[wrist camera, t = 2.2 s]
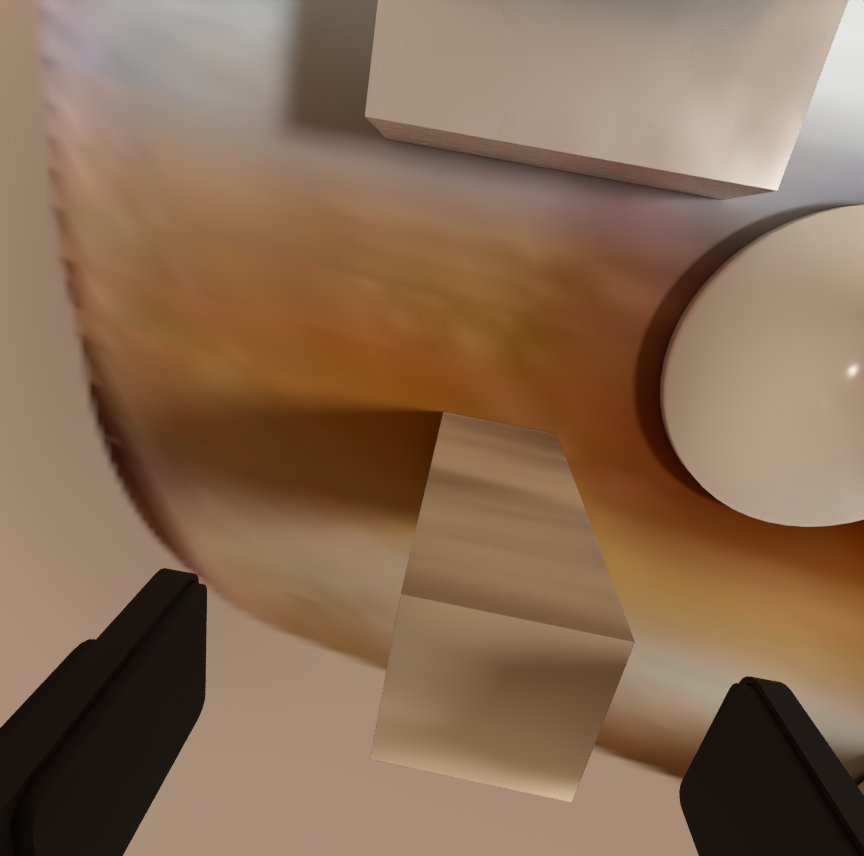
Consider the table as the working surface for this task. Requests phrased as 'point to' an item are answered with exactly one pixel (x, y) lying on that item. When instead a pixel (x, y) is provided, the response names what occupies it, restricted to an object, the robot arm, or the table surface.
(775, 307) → the coaster
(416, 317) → the table surface
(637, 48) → the base
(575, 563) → the pale wood brick
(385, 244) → the table surface
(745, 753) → the robot arm
